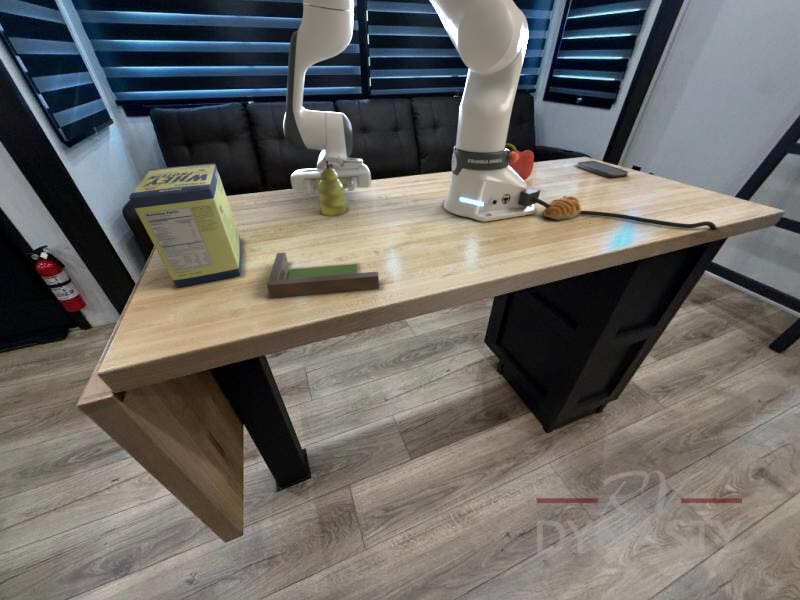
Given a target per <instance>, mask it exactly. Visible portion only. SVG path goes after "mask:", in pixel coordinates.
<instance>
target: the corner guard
mask: <svg viewBox="0 0 800 600" xmlns="http://www.w3.org/2000/svg"><path fill="white" fill-rule="evenodd" d="M288 267H289V261H288V258H287V253H286V252H277V253H276V255H275V259H274V261H273V265H272V268H271V270H270V275H269V277H268V281H267V283H266V287H267V291H268V294H269V298H270V299H275V298H277V299H278V298H288V297H289V298H290V297H300V296H310V295H311V296H312V295H323V294H334V293H347V292H357V291H368V290H379V289H380V276H379V272H378V271H367V272H357V273H353V274H341V275H329V276H316V277H304V278H292V279H287V278H286V276H287V270H288Z"/></svg>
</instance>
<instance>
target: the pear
mask: <svg viewBox="0 0 800 600" xmlns="http://www.w3.org/2000/svg"><path fill="white" fill-rule="evenodd" d="M326 166H327V168H325V169H324V170H323V171H322V172H321V181H320V183H319V185H318V190H317V194H318V200H319V206H320V212H321V214H322V215H324V216H329V217H330V216H331V217H332V216H333V217H334V216H341V215H343V214H345V213H346V211H347V205H346V195H345V188H344V187H343V184H342V183H341V181H340V180H339V179H338V175H337V173H336V171H335V170H334V169H332V168H329V162H328V161H326Z"/></svg>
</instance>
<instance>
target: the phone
mask: <svg viewBox="0 0 800 600" xmlns="http://www.w3.org/2000/svg"><path fill="white" fill-rule="evenodd" d="M576 167H578V168H581V169H583V170H586V171H589V172H592V173H595V174H597V175H600V176H603V177H606V178H611V179H612V178H621V177H627V176H628V175H629V171H627V170H624V169H622V168H618V167H615V166H612V165H609V164H606V163H603V162H600V161H596V160H588V161H587V160H586V161H579V162H577V164H576Z"/></svg>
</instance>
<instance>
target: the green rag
mask: <svg viewBox="0 0 800 600" xmlns="http://www.w3.org/2000/svg"><path fill="white" fill-rule="evenodd" d="M353 273H358V271H357V264H341V265H340V264H339V265H328V266H317V267H303V268H291V269H289V270H288V275H287V278H286V279H292V278H304V277H316V276H329V275H341V274H353Z"/></svg>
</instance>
